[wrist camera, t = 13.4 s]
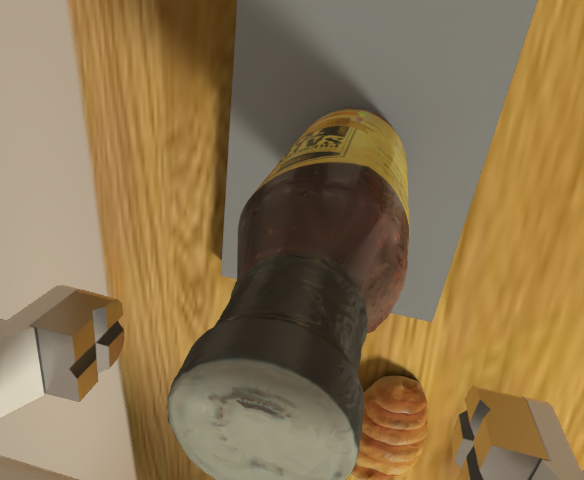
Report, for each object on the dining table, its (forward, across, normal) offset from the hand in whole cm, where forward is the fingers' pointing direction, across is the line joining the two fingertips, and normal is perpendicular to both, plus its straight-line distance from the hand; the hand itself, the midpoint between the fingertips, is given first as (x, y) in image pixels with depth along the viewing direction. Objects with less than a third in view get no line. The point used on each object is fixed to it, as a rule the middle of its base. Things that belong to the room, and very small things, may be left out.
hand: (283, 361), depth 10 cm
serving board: (+20, 0, 0) cm, 20 cm away
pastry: (+20, -6, +21) cm, 30 cm away
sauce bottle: (+18, 0, 0) cm, 18 cm away
